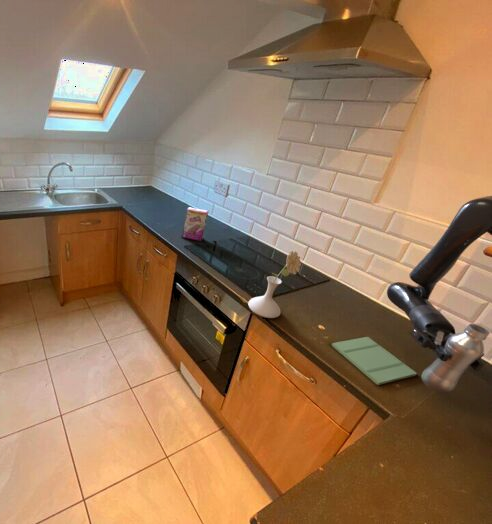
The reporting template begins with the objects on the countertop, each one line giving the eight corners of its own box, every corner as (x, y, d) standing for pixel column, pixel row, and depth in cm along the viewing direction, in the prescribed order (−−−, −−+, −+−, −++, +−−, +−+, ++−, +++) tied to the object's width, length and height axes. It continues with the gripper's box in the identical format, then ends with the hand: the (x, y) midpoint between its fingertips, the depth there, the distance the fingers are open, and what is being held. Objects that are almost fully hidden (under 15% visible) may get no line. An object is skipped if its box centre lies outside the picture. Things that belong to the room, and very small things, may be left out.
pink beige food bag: (181, 237, 165) (186, 209, 157) (183, 234, 169) (188, 206, 162) (201, 241, 163) (208, 213, 155) (202, 238, 167) (208, 210, 159)
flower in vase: (257, 322, 105) (279, 259, 93) (241, 302, 114) (260, 243, 103) (289, 320, 107) (315, 259, 96) (271, 301, 117) (293, 243, 105)
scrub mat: (366, 338, 103) (367, 336, 102) (415, 375, 89) (417, 373, 89) (331, 345, 98) (332, 342, 97) (377, 385, 85) (379, 382, 84)
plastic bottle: (424, 392, 79) (471, 333, 69) (413, 373, 84) (455, 317, 75) (454, 400, 77) (506, 342, 68) (440, 380, 83) (486, 324, 73)
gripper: (407, 306, 88) (436, 342, 73) (467, 320, 84) (509, 361, 70) (395, 325, 91) (420, 364, 77) (452, 340, 87) (489, 383, 73)
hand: (462, 363), depth 73 cm, fingers closed on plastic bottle, 6 cm apart
